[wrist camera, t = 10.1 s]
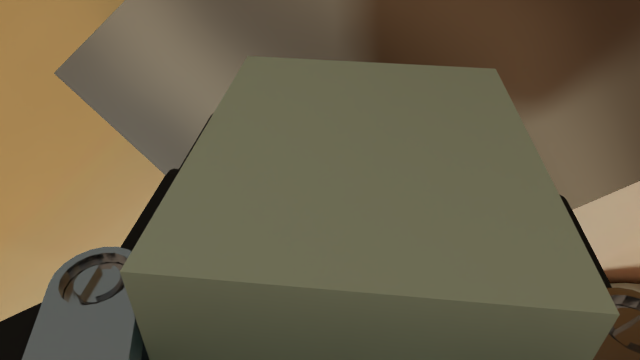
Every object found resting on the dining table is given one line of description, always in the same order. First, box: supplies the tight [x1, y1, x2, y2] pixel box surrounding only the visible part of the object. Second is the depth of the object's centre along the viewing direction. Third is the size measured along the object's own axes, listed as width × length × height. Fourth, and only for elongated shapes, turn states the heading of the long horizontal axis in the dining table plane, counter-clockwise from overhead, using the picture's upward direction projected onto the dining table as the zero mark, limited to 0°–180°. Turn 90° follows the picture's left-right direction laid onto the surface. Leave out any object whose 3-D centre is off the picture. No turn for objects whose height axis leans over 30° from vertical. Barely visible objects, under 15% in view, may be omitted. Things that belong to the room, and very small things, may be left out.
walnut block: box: [54, 0, 640, 210], centre depth 15 cm, size 14×13×4 cm
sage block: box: [120, 56, 620, 360], centre depth 9 cm, size 5×5×6 cm
